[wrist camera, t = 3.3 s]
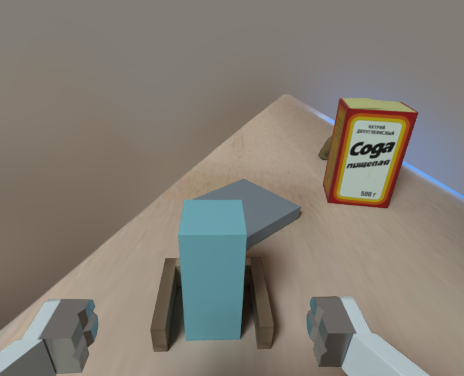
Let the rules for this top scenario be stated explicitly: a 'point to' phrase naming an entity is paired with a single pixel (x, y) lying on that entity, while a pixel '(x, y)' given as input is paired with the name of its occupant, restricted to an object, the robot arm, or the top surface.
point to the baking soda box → (367, 151)
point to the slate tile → (257, 209)
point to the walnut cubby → (173, 280)
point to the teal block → (212, 268)
